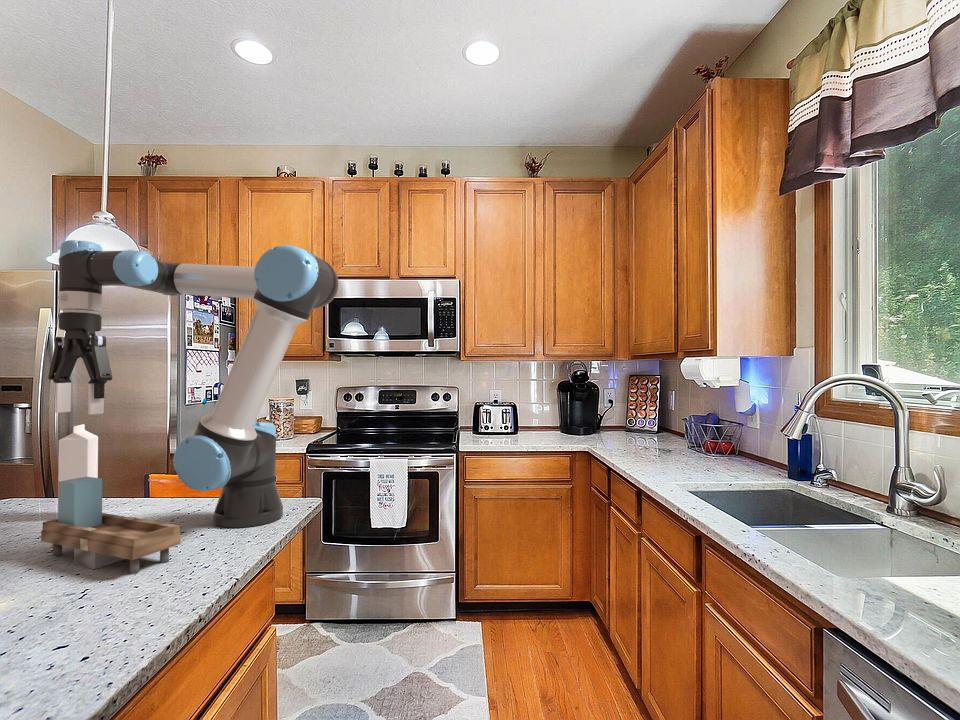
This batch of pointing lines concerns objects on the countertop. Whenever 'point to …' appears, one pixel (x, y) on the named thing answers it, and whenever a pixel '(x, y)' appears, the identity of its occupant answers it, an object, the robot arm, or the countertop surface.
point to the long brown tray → (112, 540)
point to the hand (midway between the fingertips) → (79, 413)
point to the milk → (78, 455)
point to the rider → (80, 501)
